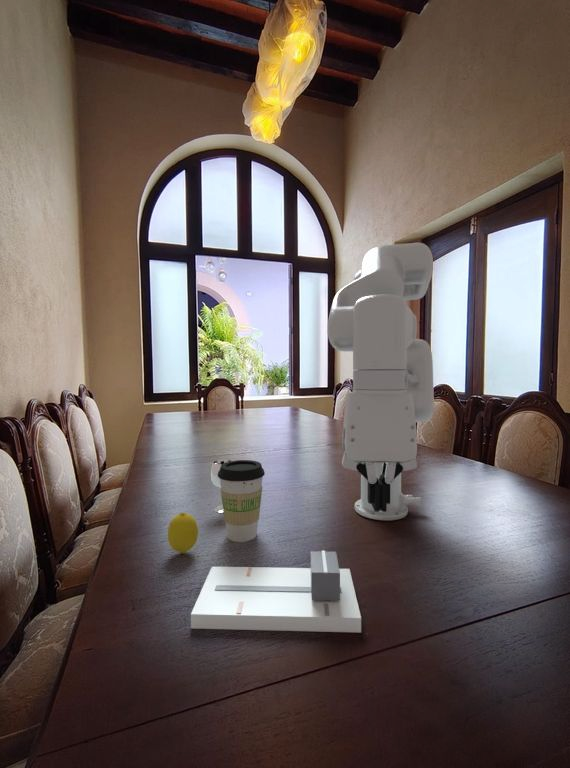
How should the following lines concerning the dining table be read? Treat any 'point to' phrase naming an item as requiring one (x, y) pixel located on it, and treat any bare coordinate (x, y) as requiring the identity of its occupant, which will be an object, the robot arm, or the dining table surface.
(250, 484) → the coffee cup
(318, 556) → the fader
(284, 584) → the fader board
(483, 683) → the dining table surface
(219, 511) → the wineglass
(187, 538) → the lemon
